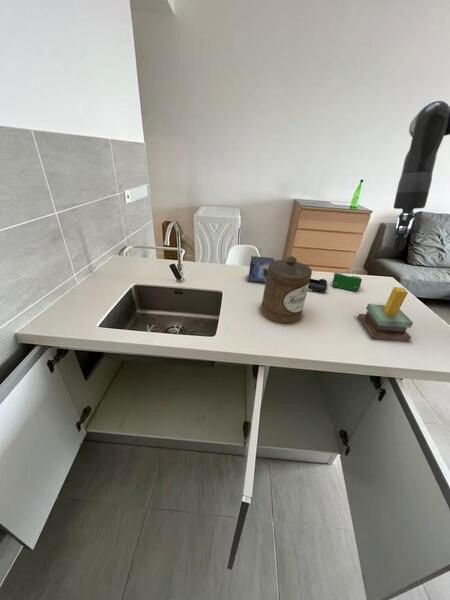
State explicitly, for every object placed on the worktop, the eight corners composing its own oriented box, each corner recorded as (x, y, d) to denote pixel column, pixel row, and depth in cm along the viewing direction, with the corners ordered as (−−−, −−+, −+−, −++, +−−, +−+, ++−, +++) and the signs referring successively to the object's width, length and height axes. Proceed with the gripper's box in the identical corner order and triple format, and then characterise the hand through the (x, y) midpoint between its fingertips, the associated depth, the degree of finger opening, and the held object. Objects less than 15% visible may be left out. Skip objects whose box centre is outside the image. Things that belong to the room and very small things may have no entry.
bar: (392, 311, 83) (403, 287, 78) (396, 315, 80) (408, 292, 76) (383, 309, 83) (393, 286, 79) (386, 314, 81) (397, 291, 76)
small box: (247, 282, 111) (250, 260, 106) (248, 276, 117) (250, 255, 111) (271, 284, 111) (274, 263, 105) (270, 278, 116) (274, 257, 111)
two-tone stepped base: (389, 320, 90) (397, 304, 87) (408, 341, 80) (418, 324, 77) (357, 317, 91) (363, 302, 87) (371, 338, 81) (379, 322, 77)
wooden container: (290, 329, 83) (305, 270, 71) (253, 312, 90) (261, 257, 79) (306, 310, 93) (321, 256, 82) (272, 297, 101) (281, 246, 89)
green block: (349, 294, 115) (363, 279, 111) (350, 297, 109) (365, 281, 106) (327, 280, 117) (340, 264, 113) (328, 282, 111) (341, 266, 107)
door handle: (286, 267, 122) (280, 278, 109) (328, 276, 116) (327, 288, 102) (285, 273, 123) (279, 285, 110) (326, 282, 117) (325, 295, 104)
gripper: (429, 189, 62) (413, 252, 68) (429, 190, 72) (415, 245, 78) (394, 190, 66) (381, 250, 72) (399, 192, 77) (387, 244, 83)
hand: (399, 247), depth 75 cm, fingers open, 8 cm apart
